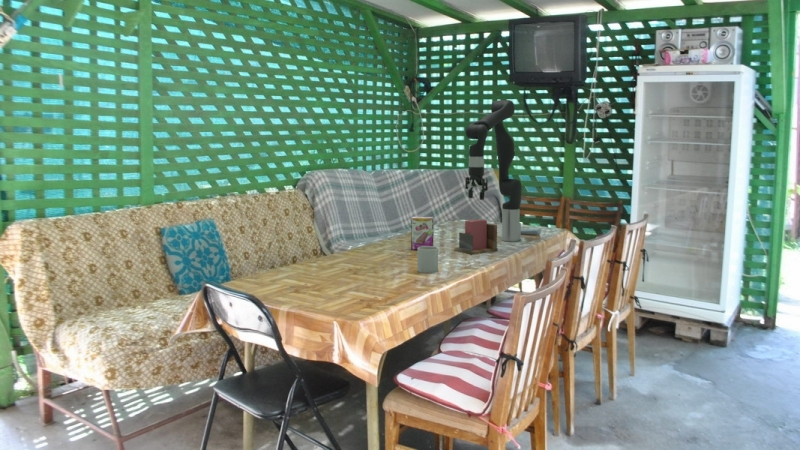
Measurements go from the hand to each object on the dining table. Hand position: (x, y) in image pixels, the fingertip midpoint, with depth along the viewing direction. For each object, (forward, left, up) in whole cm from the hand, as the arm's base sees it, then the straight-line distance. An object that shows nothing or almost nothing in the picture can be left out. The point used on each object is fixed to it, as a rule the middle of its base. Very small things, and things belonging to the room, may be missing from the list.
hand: (476, 198), depth 329 cm
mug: (+45, +24, -26) cm, 57 cm away
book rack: (0, 0, -26) cm, 26 cm away
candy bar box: (+19, -19, -26) cm, 38 cm away
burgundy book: (0, 0, -25) cm, 25 cm away
